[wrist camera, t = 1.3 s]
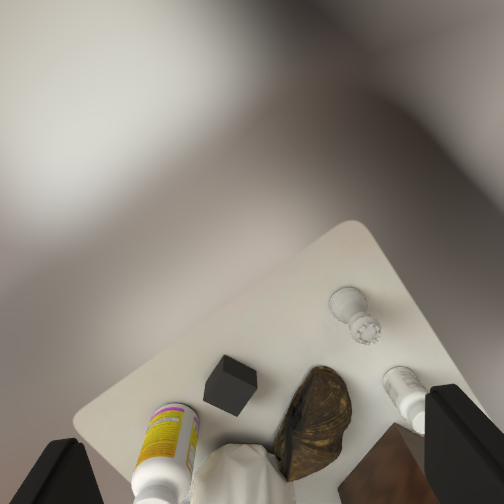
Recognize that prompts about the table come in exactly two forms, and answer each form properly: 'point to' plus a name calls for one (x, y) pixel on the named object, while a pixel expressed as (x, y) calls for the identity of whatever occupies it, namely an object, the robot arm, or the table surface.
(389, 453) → the box
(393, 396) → the pill bottle
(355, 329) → the rook chess piece
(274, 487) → the vase
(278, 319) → the table surface
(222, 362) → the black cube
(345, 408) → the seashell
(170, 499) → the supplement bottle
